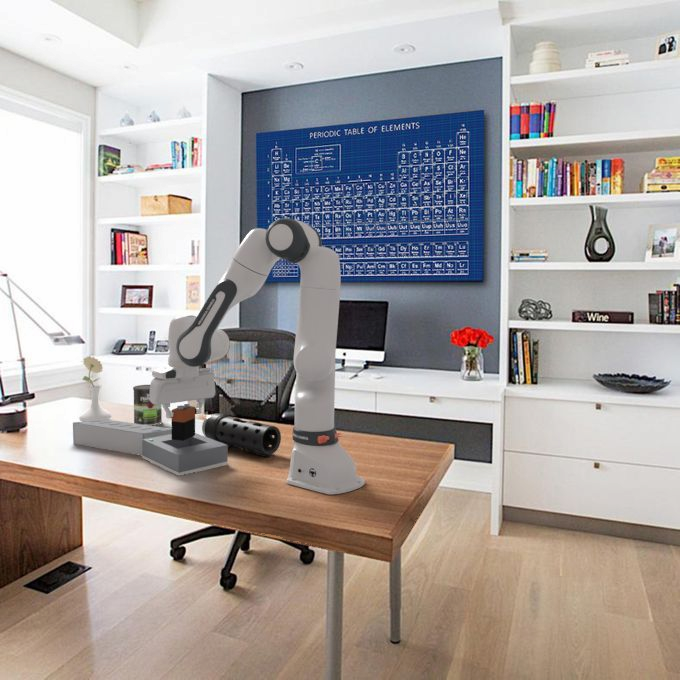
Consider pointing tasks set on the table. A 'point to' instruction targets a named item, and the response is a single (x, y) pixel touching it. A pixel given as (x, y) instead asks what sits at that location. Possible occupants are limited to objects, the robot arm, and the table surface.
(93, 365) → the flower in vase
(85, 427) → the white slatted block
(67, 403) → the table surface
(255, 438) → the muzzle brake
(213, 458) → the dock
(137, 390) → the coffee can
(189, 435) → the battery
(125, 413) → the table surface
